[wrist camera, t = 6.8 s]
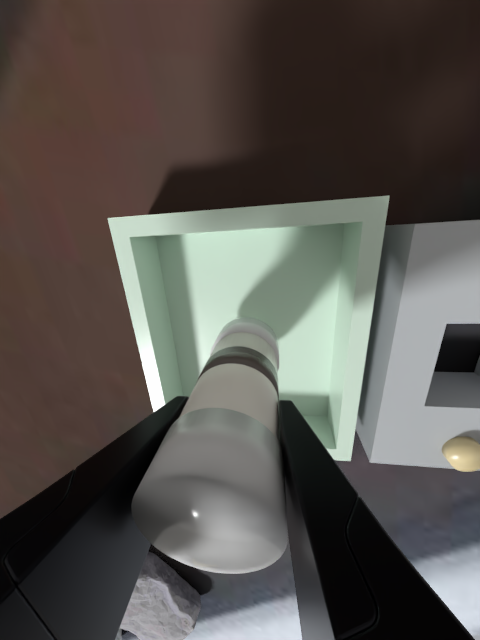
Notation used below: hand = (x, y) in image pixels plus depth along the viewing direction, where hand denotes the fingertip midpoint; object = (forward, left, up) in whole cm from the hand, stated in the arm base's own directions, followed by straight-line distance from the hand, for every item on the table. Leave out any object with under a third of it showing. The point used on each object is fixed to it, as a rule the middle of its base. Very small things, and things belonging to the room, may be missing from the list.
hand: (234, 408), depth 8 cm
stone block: (+13, +31, -7) cm, 34 cm away
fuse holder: (-10, 0, -7) cm, 12 cm away
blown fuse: (0, 0, -4) cm, 5 cm away
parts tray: (0, 0, -7) cm, 7 cm away
